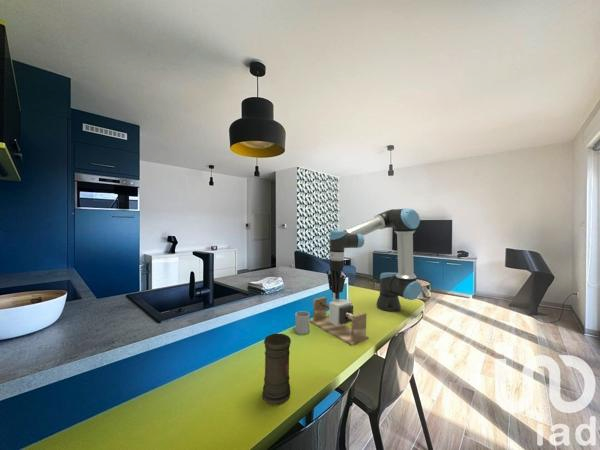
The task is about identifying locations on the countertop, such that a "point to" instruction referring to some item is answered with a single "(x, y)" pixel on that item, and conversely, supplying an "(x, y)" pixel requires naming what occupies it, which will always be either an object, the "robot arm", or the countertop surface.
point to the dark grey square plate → (342, 314)
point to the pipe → (348, 315)
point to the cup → (302, 322)
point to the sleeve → (336, 310)
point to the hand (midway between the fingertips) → (335, 304)
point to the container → (276, 369)
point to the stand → (342, 331)
